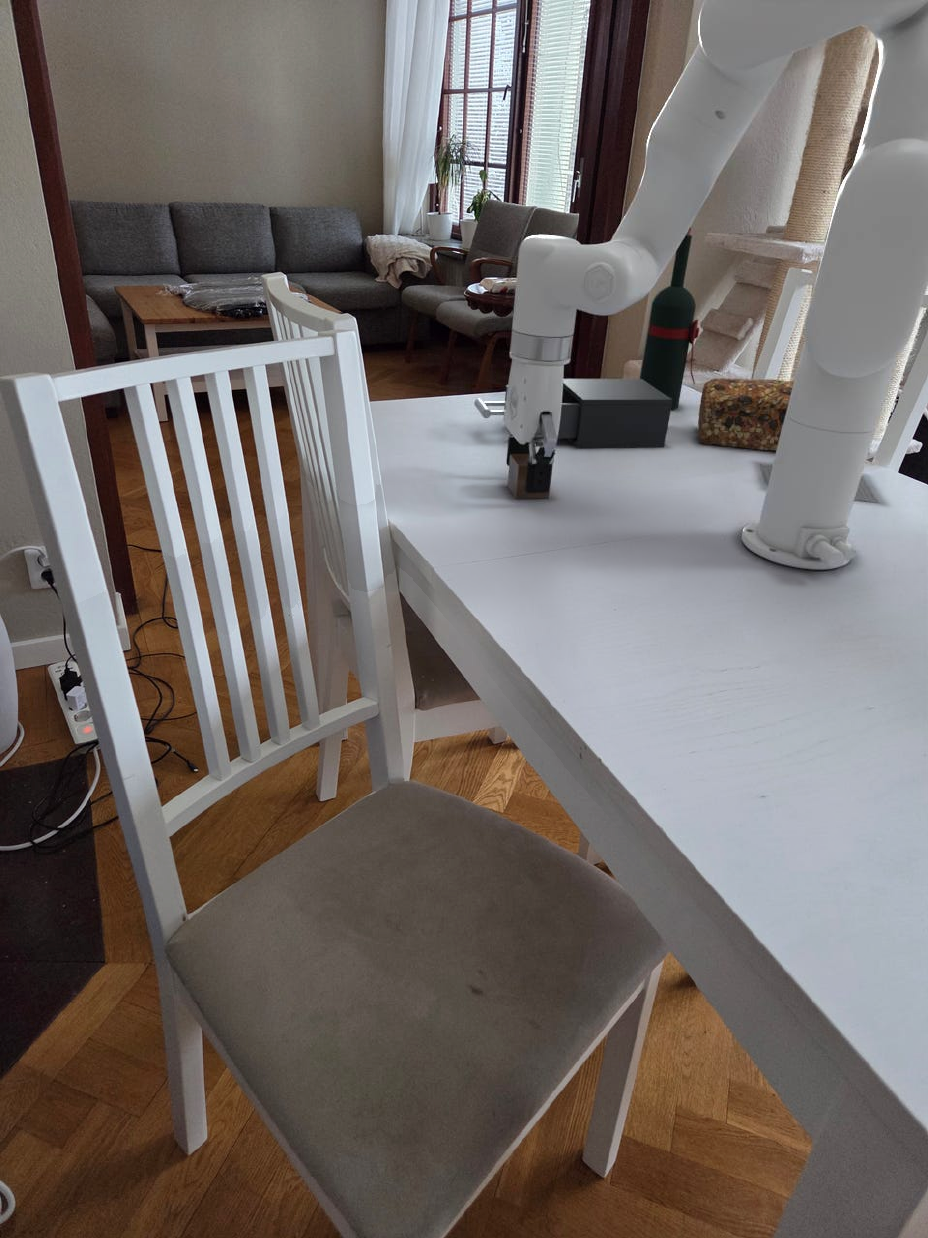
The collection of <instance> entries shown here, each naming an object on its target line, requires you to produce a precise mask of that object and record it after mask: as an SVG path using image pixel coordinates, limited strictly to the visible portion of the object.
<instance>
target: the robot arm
mask: <svg viewBox="0 0 928 1238" xmlns="http://www.w3.org/2000/svg"><path fill="white" fill-rule="evenodd" d="M697 26H698V37H699V42H698V44H697V46H696V47H695V50H694V52H693V53H692V55H691V57H690V59H689V60H688V63H687V65H686V66H685V68H684V70H683V72H682V73H681V75H680V77H679V79H678V80H677V82H676V84H675V86H674V88H673V90H672V92H671V93H670V95H669V97H668V98H667V100H666V102H665V104H664V106H663V108H662V110H661V111H660V112H659V115H658V116H657V118H656V120H655V121H654V123H653V125H652V127H651V130H650V132H649V135H648V139H647V142H646V149H645V150H646V151H645V165H644V171H643V174H642V178H641V181H640V184H639V186H638V189H637V191H636V193H635V196H634V198H633V200H632V201H631V203H630V206H629V207H628V210H627V212H626V213H625V215H624V217H623V218H622V220H621V221H620V224H619V226H618V227H617V229H616V231H615V233H613V235H612V237H611V239H610V241H606V242H603V243H597V244H581V243H580V242H579V241H578V240H576V239H575V238H572V237H567V236H561V235H549V234H538V235H537V234H536V235H535V234H534V235H530V236H527V237H526V238H524V239H523V240H522V241H521V244H520V246H519V250H518V259H517V270H516V279H515V280H516V281H515V292H514V303H513V304H514V305H513V313H512V314H513V315H512V324H511V325H512V326H511V334H510V335H511V337H510V346H509V347H510V348H509V358H510V359H512V360H511V365H510V371H509V376H508V381H507V382H508V384H507V385H508V389H507V397H506V404H505V412H504V415H503V419H504V420H503V423H504V426H505V427H506V428H507V430H508V435H509V436H508V439H507V450H506V461H505V462H506V465H507V467H509V461H510V454H530V462H527V470H526V479H525V491H526V493H547V492H549V490H550V491H551V484H550V482H552V475H553V465H554V462H555V457H554V456H555V455H556V446H557V443H558V438H557V436H558V431H559V425H560V416H561V406H562V393H563V379H564V376H565V375H564V370H565V367H564V366H565V365H567V364H570V363H571V356H572V349H573V341H574V333H575V325H576V317H577V310H578V311H582V312H585V313H588V314H591V315H596V316H612V315H615V314H617V313H618V314H619V313H620V312H623V310H626V309H627V308H629V307H630V306H632V305H634V304H636V303H638V302H640V301H641V300H643V299H644V298H645V297H646V296H647V295H648V294H649V293H650V291H651V290H652V289H653V288H654V287H655V285H656V283H657V282H658V280H659V278H660V277H661V276H662V274H663V273H664V271H665V269H666V268H667V266H668V264H669V263H670V261H671V260H672V259H673V257H674V256H675V254H676V250H677V248H678V247H679V245H680V244H681V242H682V240H683V239H684V237H685V235H686V233H687V232H688V230H689V228H690V227H692V224H693V223H694V221H695V219H696V218H697V215H698V214H699V212H700V210H701V209H702V207H703V205H704V204H705V201H706V200H707V198H708V197H709V195H710V194H711V192H712V190H713V188H714V186H715V184H716V181H717V180H718V178H719V177H720V174H721V173H722V171H723V169H724V167H725V166H726V164H727V162H728V161H729V159H730V158H731V156H732V154H733V153H734V151H735V149H736V148H737V146H738V144H739V143H740V141H741V139H742V138H743V137H744V135H745V133H746V131H747V130H748V128H749V126H751V124H752V122H753V120H754V119H755V117H756V115H757V114H758V112H759V111H760V109H761V107H762V106H763V104H764V103H765V102H766V99H767V98H768V96H769V95H770V94H771V91H772V90H773V88H774V87H775V85H776V84H777V82H778V81H779V79H780V77H781V75H782V74H783V72H784V70H785V69H786V68H787V66H788V64H789V63H790V61H791V59H792V58H793V56H794V53H796V52H799V51H802V50H804V49H807V48H809V47H811V46H815V45H817V44H819V43H822V42H825V41H826V40H827V41H828V40H829V39H831V38H834V37H836V36H838V35H841V34H844V33H845V32H848V31H850V30H853V29H855V28H858V27H863V28H864V29H866V30H868V31H869V32H870V33H871V34H872V35H873V36H874V37H875V39H876V43H877V45H878V53H879V62H878V68H877V73H876V76H875V81H874V84H873V88H872V92H871V96H870V100H869V105H868V110H867V116H866V119H865V123H864V127H863V130H862V134H861V138H860V141H859V146H858V149H857V153H856V155H855V158H854V162H853V165H852V167H851V168H850V170H849V171H848V172H847V174H846V176H845V177H844V179H843V181H842V183H841V185H840V187H839V190H838V193H837V196H836V199H835V203H834V207H833V211H832V213H831V214H832V215H831V218H830V222H829V227H828V231H827V235H826V238H825V243H824V247H823V251H822V255H821V259H820V262H819V266H818V269H817V270H818V271H817V274H816V279H815V282H814V286H813V289H812V294H811V297H810V302H809V305H808V309H807V313H806V317H805V322H804V341H803V345H802V350H801V353H800V357H799V361H798V365H797V368H796V373H795V376H794V377H795V378H794V380H793V381H794V384H793V388H792V392H791V396H790V400H789V404H788V408H787V412H786V415H785V419H784V423H783V427H782V431H781V435H780V439H779V443H778V447H777V451H776V452H775V455H774V459H773V464H772V465H773V467H772V471H771V475H770V479H769V483H768V487H767V486H766V492H765V496H764V499H763V504H762V507H761V511H760V516H759V519H756V520H753V521H750V522H749V523H747V524H746V525H744V527H743V529H742V533H741V540H742V541H741V542H742V543H743V545H745V546H746V548H747V549H748V550H750V551H751V552H753V553H754V554H756V555H757V556H759V557H761V558H764V559H766V560H768V561H771V562H774V563H777V564H780V565H784V566H788V567H793V568H798V569H803V570H820V571H822V570H833V569H839V568H841V567H843V566H845V565H847V564H848V563H850V561H851V560H853V559H854V558H855V557H856V554H857V551H856V550H855V548H853V545H852V544H851V542H849V540H848V536H849V534H850V531H851V528H850V527H848V526H847V524H848V521H849V518H850V515H851V511H852V508H853V505H854V502H855V500H854V499H855V495H856V492H857V489H858V486H859V482H860V479H861V476H863V472H864V469H865V466H866V463H867V459H868V456H869V453H870V451H871V450H870V449H871V446H872V443H873V440H874V436H875V433H876V430H877V428H878V424H879V421H880V419H881V415H882V412H883V408H884V404H885V401H886V398H887V394H888V392H889V388H890V384H891V381H892V378H893V374H894V370H895V368H896V364H897V360H898V356H899V355H900V354H901V353H902V351H903V350H904V349H905V347H906V346H907V344H908V342H909V340H910V339H911V336H912V333H913V331H914V328H915V325H916V322H917V319H918V316H919V314H920V310H921V307H922V305H923V302H924V301H923V300H924V297H925V295H926V291H927V288H928V0H703V2H702V5H701V8H700V12H699V18H698V25H697ZM534 437H543V438H534ZM537 447H538V450H537ZM551 474H552V475H551Z"/></svg>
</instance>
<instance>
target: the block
mask: <svg viewBox="0 0 928 1238" xmlns="http://www.w3.org/2000/svg"><path fill="white" fill-rule="evenodd" d="M527 462H530V454H510V461H509V466H508V476H507V488H508V490H509V491H510V493H511V494H512V495H513V497H514V499H516V500H526V499H527V500H528V499H529V500H530V499H531V500H532V499H533V500H535V499H536V500H537V499H550V494H551V493H550V492H551V489H550V490H549V492H547V493H526V491H525V479H526V470H527ZM552 475H553V473H552V474H551V476H552ZM551 482H552V481H551ZM551 482H550V485H551Z"/></svg>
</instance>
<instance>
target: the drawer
mask: <svg viewBox="0 0 928 1238" xmlns="http://www.w3.org/2000/svg"><path fill="white" fill-rule="evenodd" d="M507 389H508V384H506V385H505V393H504V394H505V396H504V401H484V400H482V399H481V398H477V399H475V400H474V403H473V404H474V406H475V408H476V409H477V411H478V412H479V413H480V415H481V416H482V417H483V418H484V419H488V418H490V417H491V416H504V412H505V404H506V397H507ZM580 406H581V403H580V402H579V401H578V400H576V399H575V398H574V397H573V396H572V395H571V394H570V393H568V392H567V391H566V390H565V389H564V388H563V393H562V406H561V416H560V425H559V431H558V436H557V439H568V438H577V430H578V422H579V414H580ZM489 407H503V410H490V408H489ZM503 421H504V418H503ZM534 438H543V437H534Z"/></svg>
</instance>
